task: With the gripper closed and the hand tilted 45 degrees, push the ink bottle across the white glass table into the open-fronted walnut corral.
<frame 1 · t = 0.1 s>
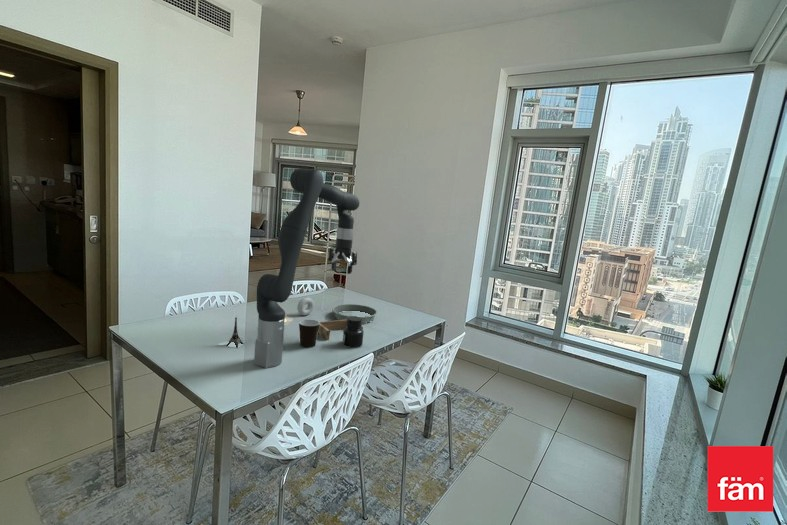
hand: (341, 272, 176), 29 cm above the table, tool pointing down, fingers open, 8 cm apart
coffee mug: (309, 344, 162), on the table
cake pan: (354, 318, 205), on the table
corral: (341, 335, 176), on the table
ink bottle: (352, 344, 167), on the table
donut: (305, 315, 200), on the table
eiffel tower figurine: (234, 346, 153), on the table
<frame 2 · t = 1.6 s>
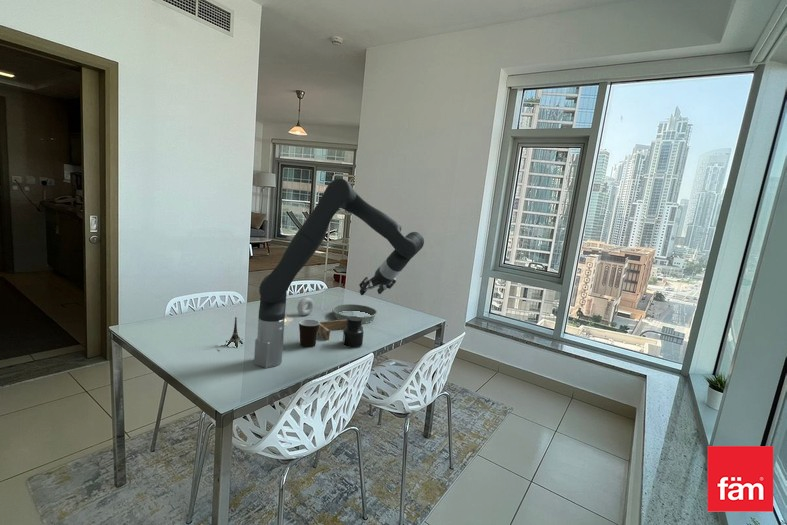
hand: (369, 292, 152), 27 cm above the table, tool tilted 45°, fingers open, 8 cm apart
nothing on the table moved.
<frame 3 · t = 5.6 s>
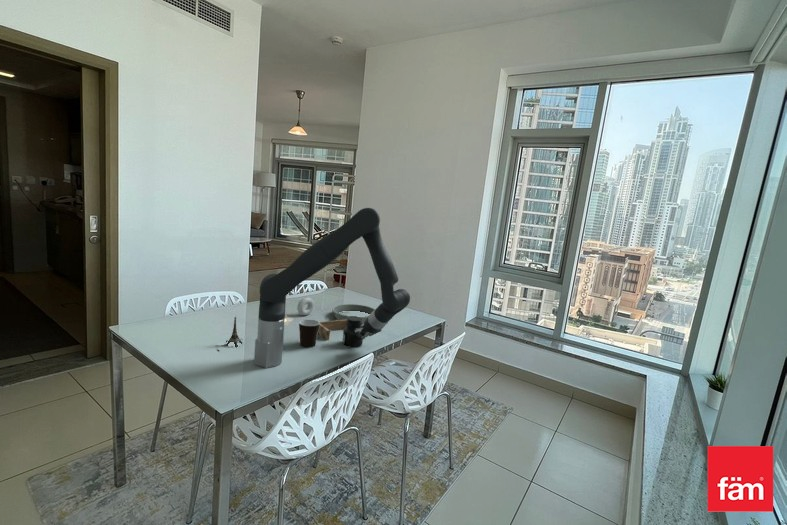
hand: (359, 338, 162), 4 cm above the table, tool tilted 45°, fingers closed
ink bottle: (352, 344, 167), on the table, touching gripper
everything else where it was.
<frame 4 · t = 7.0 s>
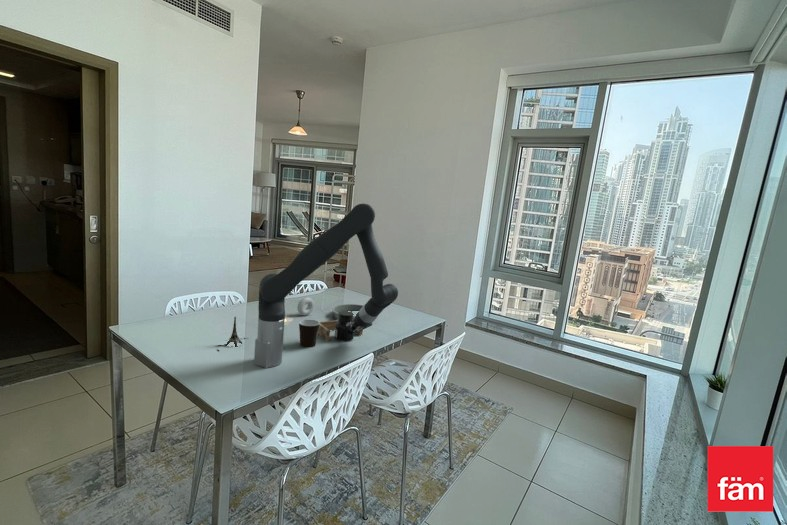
hand: (351, 332, 168), 4 cm above the table, tool tilted 45°, fingers closed
ink bottle: (343, 338, 173), on the table, touching gripper
everything else where it was.
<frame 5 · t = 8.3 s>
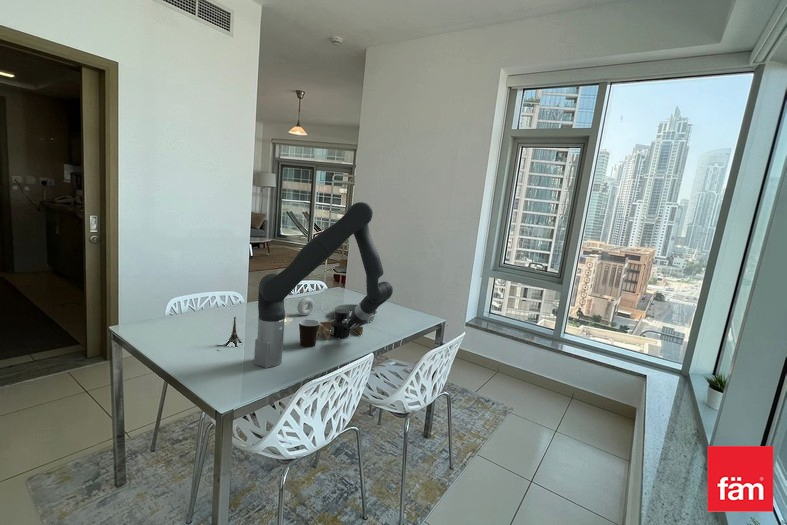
hand: (347, 330, 172), 4 cm above the table, tool tilted 45°, fingers closed
ink bottle: (339, 336, 175), on the table, touching gripper
everything else where it was.
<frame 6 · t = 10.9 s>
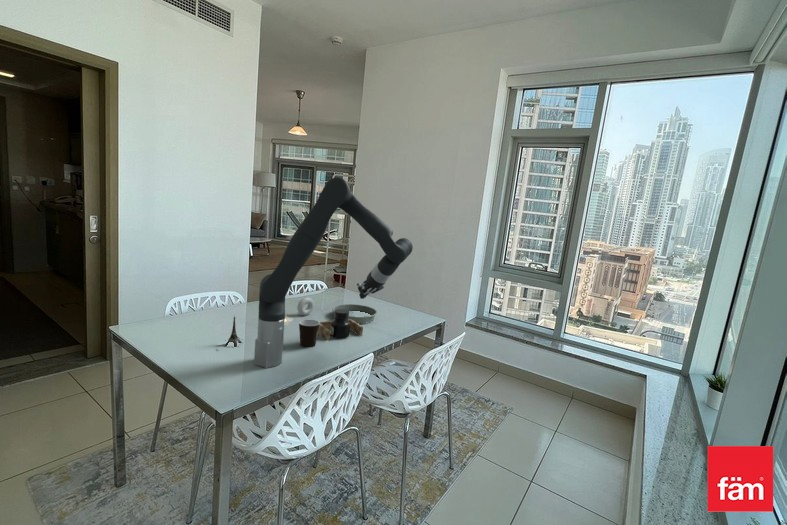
hand: (361, 296, 160), 23 cm above the table, tool tilted 45°, fingers closed
ink bottle: (339, 336, 175), on the table
everything else where it was.
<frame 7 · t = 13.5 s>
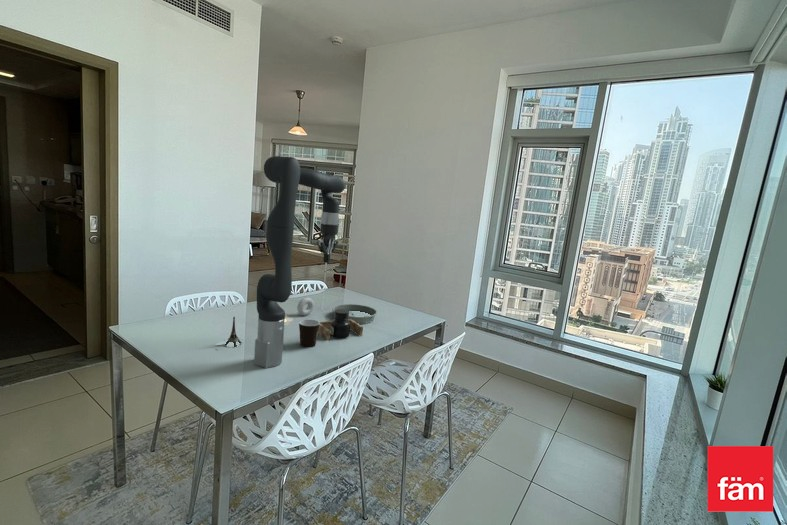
hand: (326, 262, 164), 35 cm above the table, tool pointing down, fingers closed
at the end: ink bottle 1.1 cm from the corral (horizontally); ink bottle tilted 0° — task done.
